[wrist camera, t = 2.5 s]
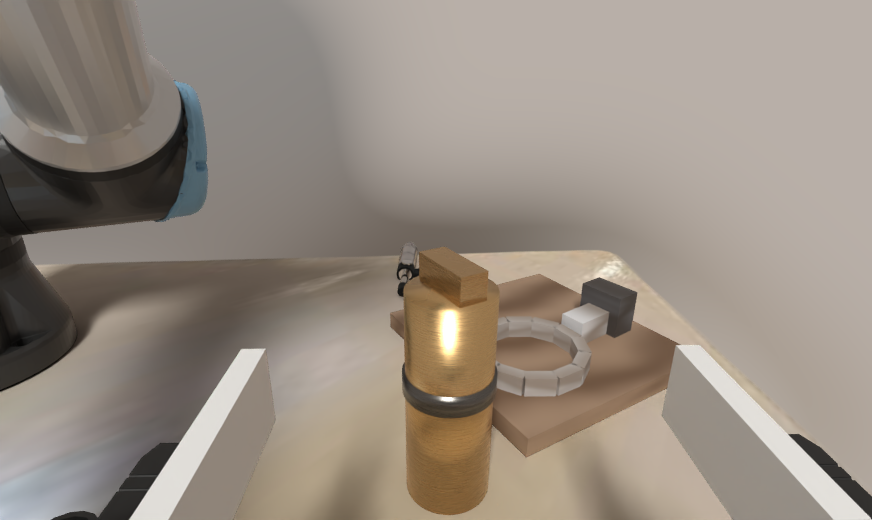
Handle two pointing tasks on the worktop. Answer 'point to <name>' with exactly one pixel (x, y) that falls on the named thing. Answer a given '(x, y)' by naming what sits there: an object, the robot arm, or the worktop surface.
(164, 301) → the worktop surface
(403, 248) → the micrometer
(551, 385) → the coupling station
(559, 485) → the worktop surface
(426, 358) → the coupling
